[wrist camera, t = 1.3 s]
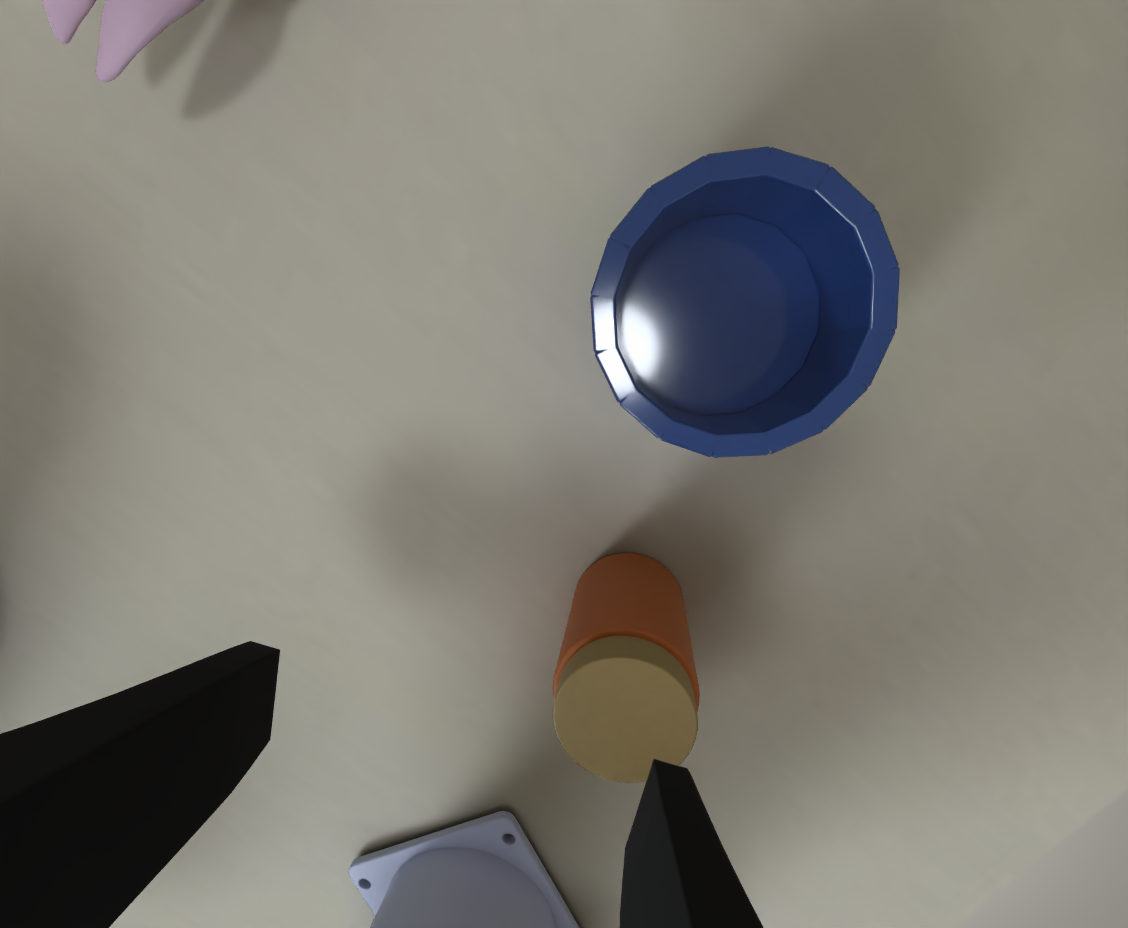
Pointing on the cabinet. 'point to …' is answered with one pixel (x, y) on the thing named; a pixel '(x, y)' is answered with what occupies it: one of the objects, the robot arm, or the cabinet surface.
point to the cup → (744, 302)
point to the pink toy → (117, 27)
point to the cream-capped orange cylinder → (626, 671)
